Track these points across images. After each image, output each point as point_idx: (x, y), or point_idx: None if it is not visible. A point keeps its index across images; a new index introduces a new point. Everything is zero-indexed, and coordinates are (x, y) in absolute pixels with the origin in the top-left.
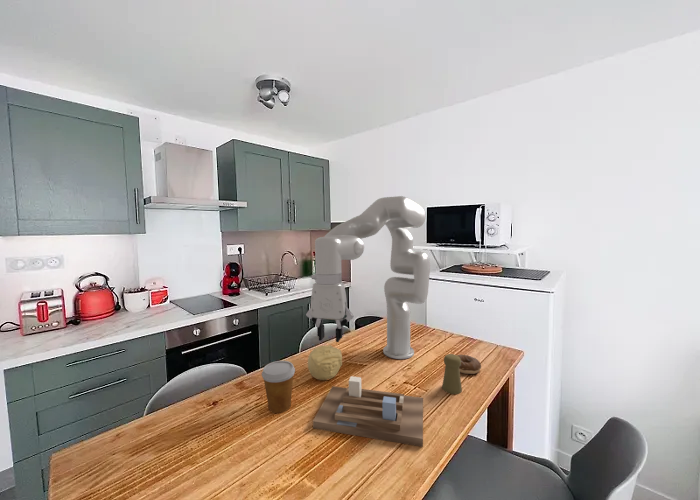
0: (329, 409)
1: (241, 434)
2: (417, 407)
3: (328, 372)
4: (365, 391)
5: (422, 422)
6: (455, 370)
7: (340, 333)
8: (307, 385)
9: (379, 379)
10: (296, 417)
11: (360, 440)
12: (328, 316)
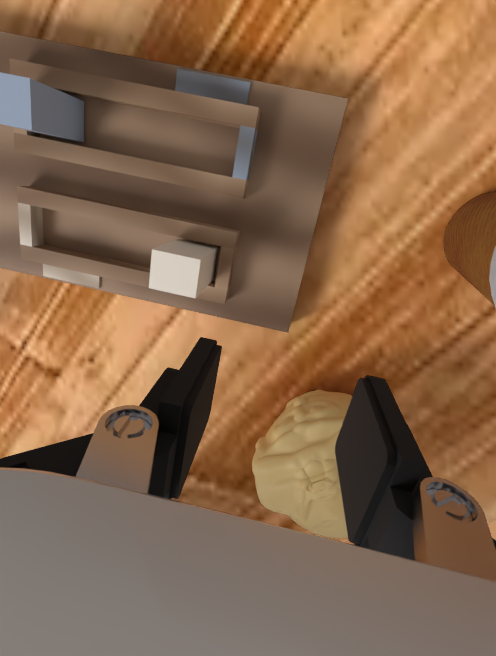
0: (287, 181)
1: None
2: None
3: (308, 401)
4: None
5: None
6: None
7: (157, 390)
8: (385, 366)
9: (136, 392)
10: (414, 169)
11: (168, 48)
12: (253, 575)
